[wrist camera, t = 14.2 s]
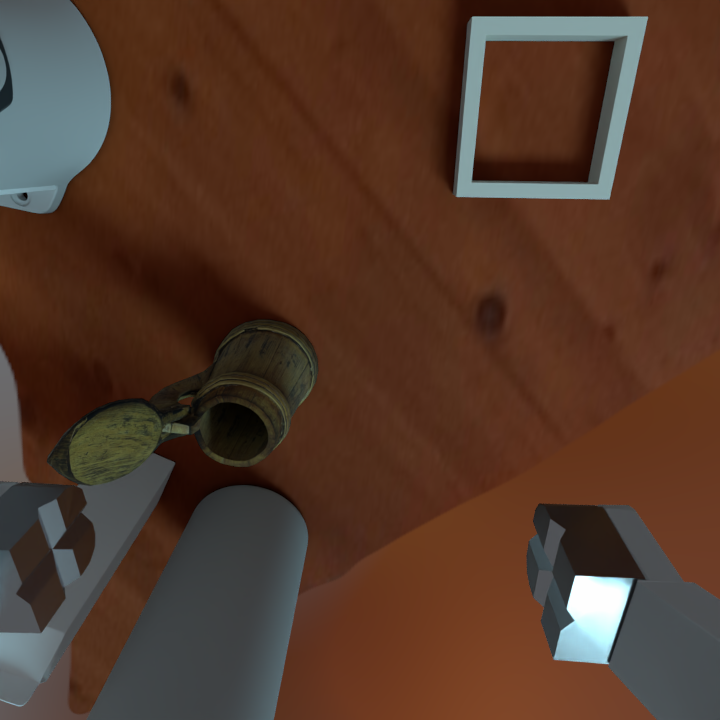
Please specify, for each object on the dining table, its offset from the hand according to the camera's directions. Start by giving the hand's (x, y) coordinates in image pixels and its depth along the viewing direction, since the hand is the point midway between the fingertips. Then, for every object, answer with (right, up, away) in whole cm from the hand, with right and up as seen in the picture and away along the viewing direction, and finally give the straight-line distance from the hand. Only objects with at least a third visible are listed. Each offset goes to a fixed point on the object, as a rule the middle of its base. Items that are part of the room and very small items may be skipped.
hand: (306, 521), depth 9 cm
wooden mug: (-10, +3, +36) cm, 37 cm away
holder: (+14, +21, +26) cm, 36 cm away
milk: (-22, -8, +42) cm, 48 cm away
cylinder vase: (-11, -15, +44) cm, 48 cm away
